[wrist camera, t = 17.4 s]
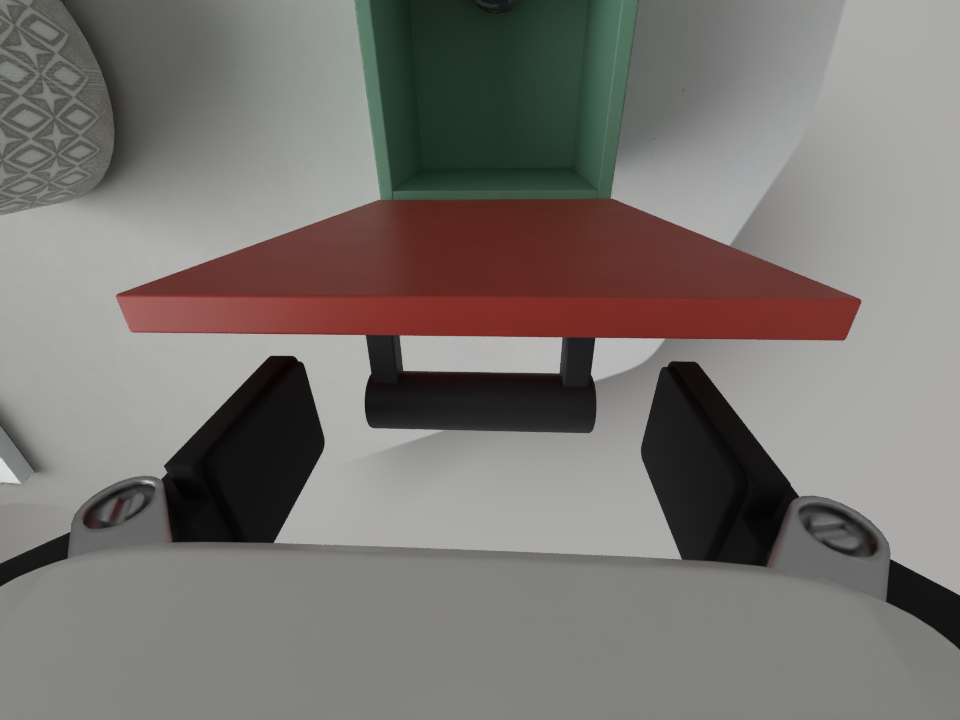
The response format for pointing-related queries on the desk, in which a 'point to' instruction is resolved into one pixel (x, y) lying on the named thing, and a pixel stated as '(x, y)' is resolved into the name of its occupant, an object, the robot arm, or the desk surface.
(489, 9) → the pill bottle
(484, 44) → the box
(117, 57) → the desk surface
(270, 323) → the lid
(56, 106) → the planter
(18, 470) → the mounting plate
